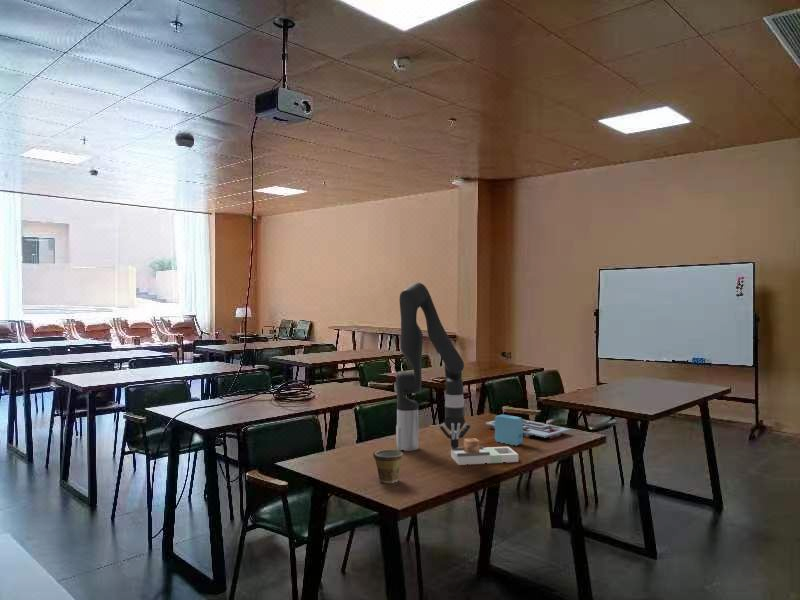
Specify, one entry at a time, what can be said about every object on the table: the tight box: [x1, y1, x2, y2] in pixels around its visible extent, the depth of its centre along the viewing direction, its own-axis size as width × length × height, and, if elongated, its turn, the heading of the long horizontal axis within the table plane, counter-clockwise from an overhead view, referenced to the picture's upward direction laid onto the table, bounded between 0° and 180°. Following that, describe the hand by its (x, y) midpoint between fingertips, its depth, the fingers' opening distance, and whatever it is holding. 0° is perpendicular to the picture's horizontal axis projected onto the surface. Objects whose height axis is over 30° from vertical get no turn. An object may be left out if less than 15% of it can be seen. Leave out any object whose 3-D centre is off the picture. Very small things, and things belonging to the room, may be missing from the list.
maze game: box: [485, 418, 571, 439], centre depth 282 cm, size 35×20×3 cm, turn 40°
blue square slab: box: [494, 414, 524, 447], centre depth 260 cm, size 12×4×12 cm, turn 48°
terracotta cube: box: [463, 437, 480, 453], centre depth 235 cm, size 5×5×5 cm
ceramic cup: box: [372, 449, 403, 484], centre depth 210 cm, size 13×10×10 cm
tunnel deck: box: [450, 445, 519, 466], centre depth 236 cm, size 24×12×4 cm, turn 99°
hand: (454, 448), depth 234 cm, fingers closed
